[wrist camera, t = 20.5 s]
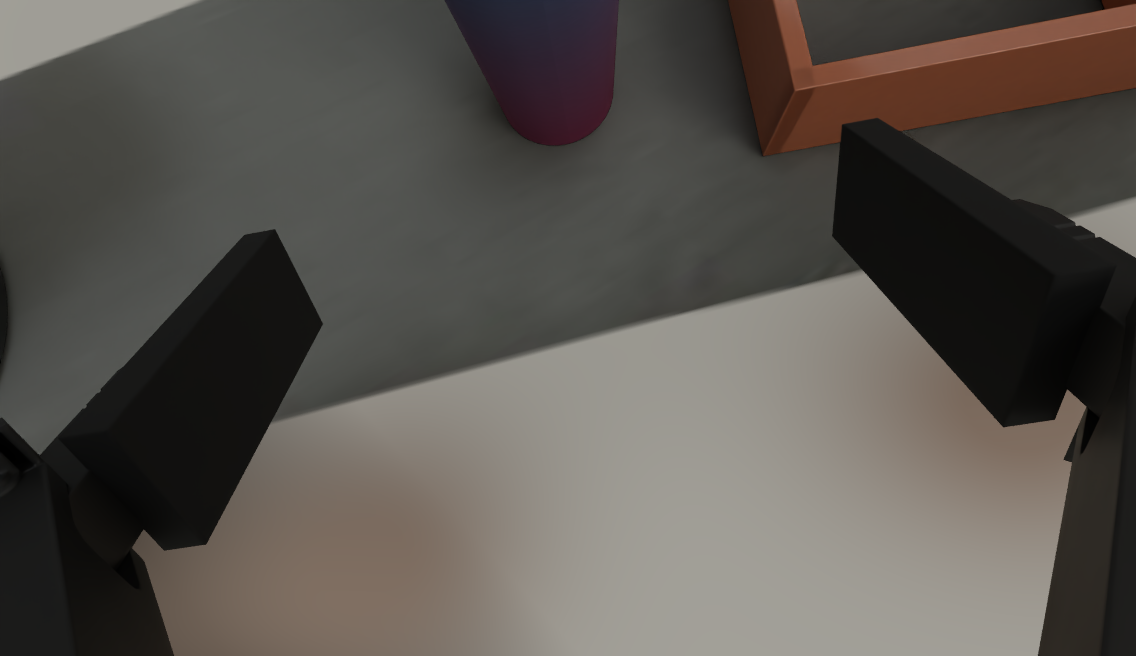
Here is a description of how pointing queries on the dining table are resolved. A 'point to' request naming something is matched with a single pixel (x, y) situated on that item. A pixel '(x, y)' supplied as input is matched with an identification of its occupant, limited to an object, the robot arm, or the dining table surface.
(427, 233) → the dining table surface
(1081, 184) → the dining table surface
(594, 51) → the cup
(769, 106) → the rectangular frame
